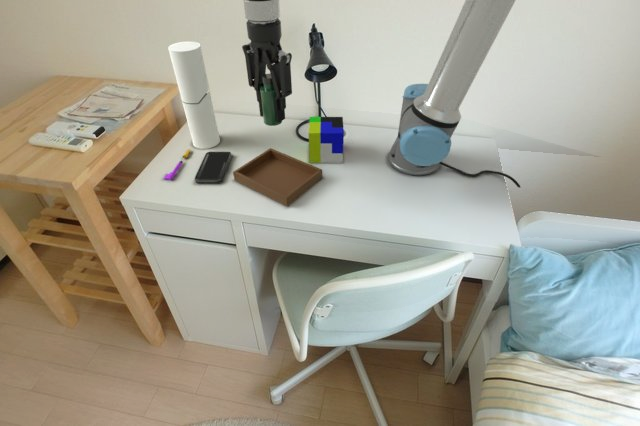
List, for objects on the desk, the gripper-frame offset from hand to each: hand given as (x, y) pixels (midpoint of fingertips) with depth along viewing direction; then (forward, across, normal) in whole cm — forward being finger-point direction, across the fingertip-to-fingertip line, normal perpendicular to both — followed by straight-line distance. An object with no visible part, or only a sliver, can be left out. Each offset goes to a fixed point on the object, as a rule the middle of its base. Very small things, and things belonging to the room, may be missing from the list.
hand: (272, 117), depth 98 cm
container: (+18, +31, 0) cm, 36 cm away
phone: (+18, +17, +9) cm, 26 cm away
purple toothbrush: (+18, +27, +14) cm, 36 cm away
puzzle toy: (+18, -5, -17) cm, 25 cm away
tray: (+18, -2, +2) cm, 18 cm away
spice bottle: (+1, 0, 0) cm, 1 cm away
